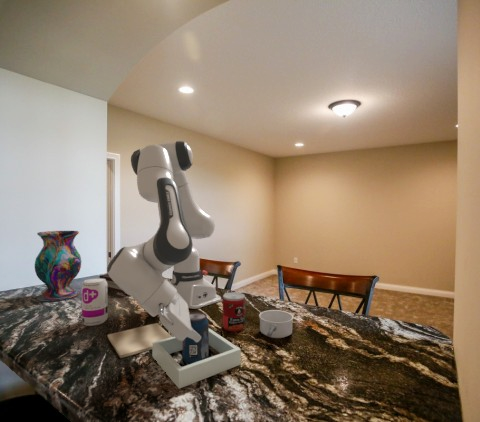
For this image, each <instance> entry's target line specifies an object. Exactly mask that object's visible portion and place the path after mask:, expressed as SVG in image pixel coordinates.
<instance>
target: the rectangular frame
mask: <svg viewBox="0 0 480 422" xmlns="http://www.w3.org/2000/svg"><path fill="white" fill-rule="evenodd" d="M209 346H210V347H211V348H212V349H214V350H215V351H217V352H218V353H219V354H215V355H212V356H208V358H207V359H204V360H201V361H198V362H195V363H192V364H189V365H188V364H186V365H184V366H183V365H182V366H181V365H180V363H178V361H176V359H174V357H172V355H171V354H173V353H176V352H180V351H182V347H183V341H180V340H178V339H177V338H176V337H175V336H174V335H173V336H172V337H170V338H167V339H163V340H159V341H156V342H152V349H151V350H152V353H151V354H152V358H153V360H154V361H155V360H156V361H157V362H156V361H155V362H156V363H157V364H158V366H159V367H160V366H161V367H160V368H161V369H162V370H163V372H164V373H165V372H166V373H165V374H166V375H167V376H168V378H169V379H170V380H171V381H172V382H173V383H174V385H175V386H176V387H177V388H178V389H179V390H180V389H181V388H185V387H187V386H190V385H193V384H194V383H198V382H199V381H202V380H206V379H207V378H209V377H212V376H215V375H218V374H220V373H222V372H224V371H225V372H226V371H228V370H231V369H232V368H235V367H238V366H241V364H242V362H241V361H242V349H241V348H240V347H238V346H237V345H235V344H234V343H232V342H230V340H227V339H226V338H225V337H223V336H221V335H220V334H219V333H217V332H215V330H213V329H211V328H209Z"/></svg>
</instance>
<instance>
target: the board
mask: <svg viewBox="0 0 480 422" xmlns="http://www.w3.org/2000/svg"><path fill="white" fill-rule="evenodd" d="M170 337H173V336H172V334H171V333H170V332H169V331H168V332H167V330H165V328H163V327H162V326H161V325H159V323H157V322H156V323H151V324H147V325H142V326H138V327H133V328H130V329H126V330H123V331H121V330H120V331H118V332H113V333H109V334H107V339H108V340H109V342H110V343H111V345H112V347H113V349H114V350H115V351H116V353H117V355H118V357H119V358H120V359H123V358H126V357H127V358H128V357H131V356H133V355H137V354H140V353H143V352H147V351H150V350H152V342H156V341H159V340H163V339H167V338H170Z"/></svg>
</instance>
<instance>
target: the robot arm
mask: <svg viewBox="0 0 480 422" xmlns="http://www.w3.org/2000/svg"><path fill="white" fill-rule="evenodd" d="M193 161H194V153H193V150H192V148H191V147H190V146H189V144H188V143H187V142H186V141H182V140H180V141H179V140H177V141H175V142H165V143H164V142H163V143H159V144H150V145H149V144H148V145H146V146H144V147H143V148H139V149H137V150H135V151H134V152H133V153H132V154H131V157H130V165H131V168H132V170H133V172H134V174H135V175H136V183H137V185H136V186H137V189H138V193H139V195H140V197H141V198H143V200H146V201H148V202H150V203H156V204H157V208H158V216H159V224H158V225H159V226H158V228H157V231H156V233H154V235H153V236H152V237H151V238H150V239H148V240H147V241H144V242H142V243H139V244H136V245H132V246H123V247H121V248H119V250H118V251H117V252H116V254H115V255H114V256H113V257H112V259H110V262H108V264H107V268H106V272H107V273H106V274H108V275H109V276H110V278H111V279H112V280H113V281H114V282H115V283H116V284H117V285H118V286H119V287H120V288H121V289H122V290H123V291H124V292H125V293H126V294H128V295H127V296H131V298H133V299H134V300H135V301H136V303H137V304H138V306H140V307H141V308H142V309H143V310H144V311H146V313H148V315H150V316H151V317H153V318H154V317H156V316H159V320H160V324H162V326H164V329H166V331H168V333H169V334H171V335H173V337H174V336H175V337H176V338H177V339H178V340H180V341H183V340H184V339H185V338H186V337H189V338H191V339H193V340H194V341H195V342H199V341H200V339H201V335H200V334H199V333H198V332H197V331H195V330H193V328H192V327H191V322H190V315H189V313H190V310H189V309H193V310H194V309H195V310H196V309H200V308H202V307H206V306H208V305H213V304H216V303H218V302H221V301H222V297H221V295H219V294H217V290H216V287H215V286H214V284H212V283H211V282H210V281H208V280H207V279H206V278H205V277H207V275H208V271H206V270H202V269H201V268H200V252H199V250H198V249H197V248H196V247H195V246H194V245H193V239H194V240H202V239H207V238H210V237H212V235H213V233H214V231H215V229H216V228H215V227H216V224H215V220H214V219H213V217H212V216H211V215H210V214H208V213H206V212H205V211H204V210H203V209H202V208H201V207H200V206H199V205H198V203H197V202H196V200H195V198H194V196H193V193H192V190H191V186H190V182H189V179H188V176H187V173H186V171H188V169H190V168H191V167H192V165H193ZM172 267H173V270H172V277H171V279H172V283H171V282H170V281H168V280H167V279H166V278H165V277H164V276H163V273H164V272H166V271H167V270H169V269H171V268H172ZM204 276H205V277H204ZM126 294H125V295H126Z"/></svg>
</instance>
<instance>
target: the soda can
mask: <svg viewBox="0 0 480 422" xmlns="http://www.w3.org/2000/svg"><path fill="white" fill-rule="evenodd" d="M189 315H190V322H191V327H192V328H193V330H195V331H197V332H198V333H199V334H200V335H201V339H200V341H199V342H195V341H194V340H193V339H191V338H189V337H186V338H185V339H184V340H183V347H182V350H181V351H182V352H181V353H182V360H183V361H184V363H185V364H186V365H189V364H192V363H195V362H198V361H201V360H204V359H207V358H209V352H210V351H209V348H210V347H209V346H210V345H209V320H208V318H207V314H206V313H205V312H200V311H194V312H189Z"/></svg>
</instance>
